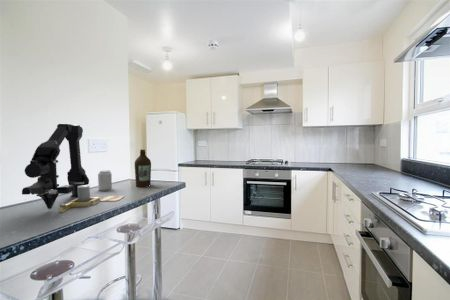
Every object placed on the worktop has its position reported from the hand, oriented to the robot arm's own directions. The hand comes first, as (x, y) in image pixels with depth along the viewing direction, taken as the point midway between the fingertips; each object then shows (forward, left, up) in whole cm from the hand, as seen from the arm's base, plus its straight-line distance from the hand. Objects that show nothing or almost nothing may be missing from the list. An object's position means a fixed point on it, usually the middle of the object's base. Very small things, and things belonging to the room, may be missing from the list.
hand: (49, 208), depth 99 cm
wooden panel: (+19, +18, -1) cm, 27 cm away
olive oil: (+26, +51, -1) cm, 57 cm away
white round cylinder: (+9, +10, -1) cm, 14 cm away
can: (+5, +42, -1) cm, 42 cm away
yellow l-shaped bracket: (+9, +3, -1) cm, 10 cm away
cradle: (+9, +12, -1) cm, 15 cm away
